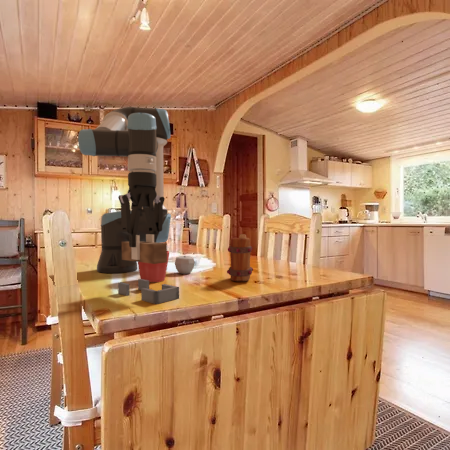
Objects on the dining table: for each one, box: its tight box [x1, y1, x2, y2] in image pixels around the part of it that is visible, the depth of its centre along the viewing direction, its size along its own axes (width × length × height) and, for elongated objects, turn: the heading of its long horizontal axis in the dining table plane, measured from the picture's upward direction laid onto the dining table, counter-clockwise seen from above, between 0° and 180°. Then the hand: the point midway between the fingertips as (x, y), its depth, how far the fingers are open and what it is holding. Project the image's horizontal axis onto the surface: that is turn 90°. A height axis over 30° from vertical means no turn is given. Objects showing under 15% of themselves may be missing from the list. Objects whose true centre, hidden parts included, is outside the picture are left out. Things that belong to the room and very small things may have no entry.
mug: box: [226, 233, 254, 283], centre depth 114 cm, size 15×8×15 cm, turn 168°
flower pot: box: [137, 250, 170, 283], centre depth 112 cm, size 11×11×10 cm
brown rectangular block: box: [122, 241, 168, 264], centre depth 91 cm, size 15×4×5 cm, turn 49°
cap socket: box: [140, 283, 180, 305], centre depth 87 cm, size 6×8×3 cm
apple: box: [174, 255, 196, 275], centre depth 125 cm, size 8×8×7 cm
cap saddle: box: [117, 278, 150, 297], centre depth 95 cm, size 4×8×3 cm, turn 139°
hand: (143, 258), depth 91 cm, fingers closed on brown rectangular block, 4 cm apart
